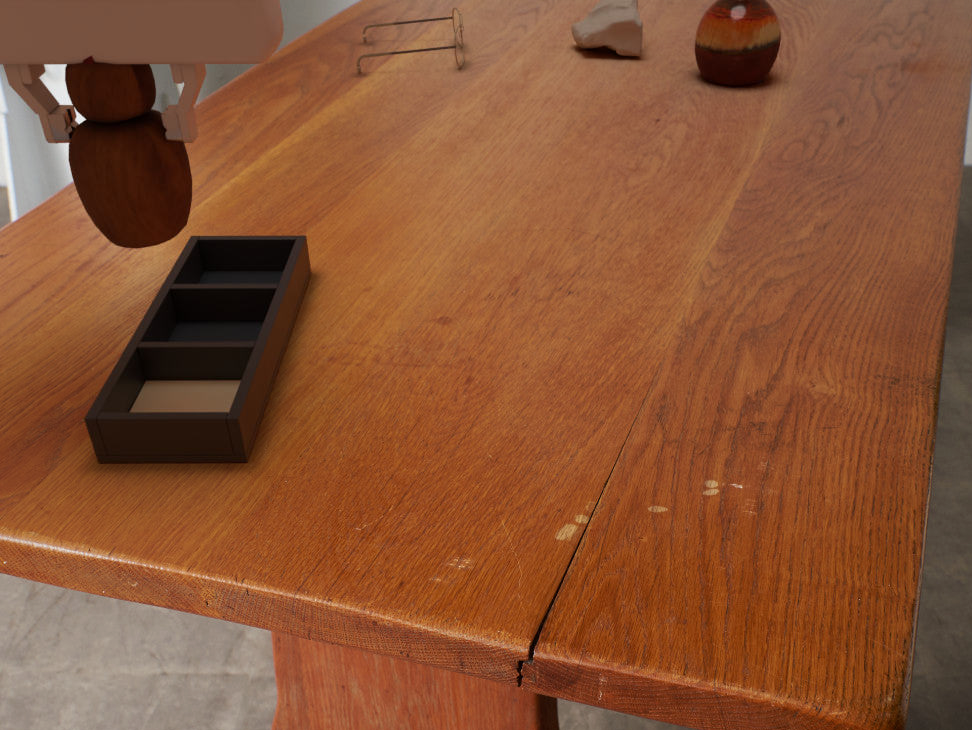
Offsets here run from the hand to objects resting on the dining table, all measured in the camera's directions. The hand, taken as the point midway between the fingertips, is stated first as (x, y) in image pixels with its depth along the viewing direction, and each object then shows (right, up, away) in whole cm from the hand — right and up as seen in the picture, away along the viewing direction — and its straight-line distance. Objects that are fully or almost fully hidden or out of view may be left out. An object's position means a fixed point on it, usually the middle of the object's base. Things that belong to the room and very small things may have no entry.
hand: (124, 140), depth 60 cm
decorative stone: (+37, +44, +86) cm, 104 cm away
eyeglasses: (+9, +43, +85) cm, 95 cm away
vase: (+53, +36, +76) cm, 100 cm away
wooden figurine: (0, -5, +4) cm, 6 cm away
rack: (0, -10, +19) cm, 22 cm away
